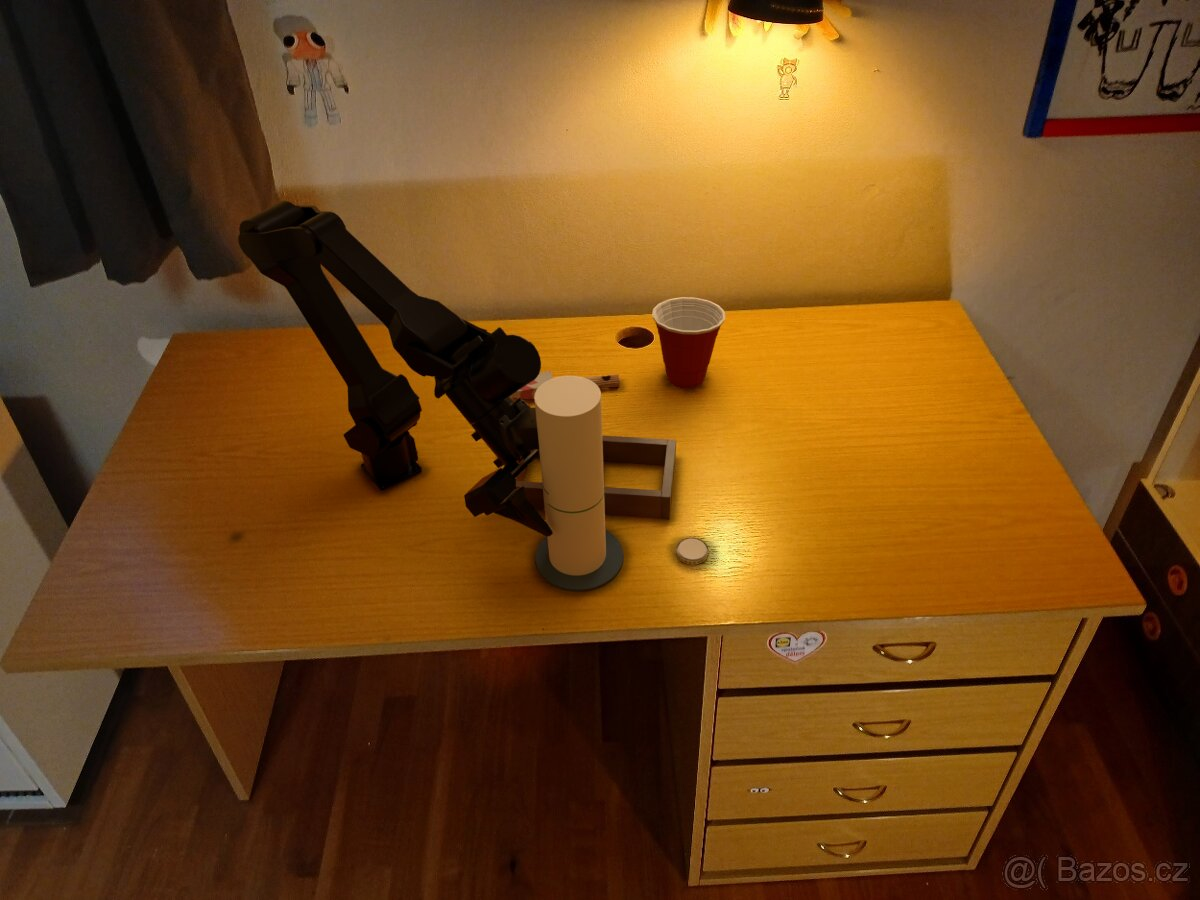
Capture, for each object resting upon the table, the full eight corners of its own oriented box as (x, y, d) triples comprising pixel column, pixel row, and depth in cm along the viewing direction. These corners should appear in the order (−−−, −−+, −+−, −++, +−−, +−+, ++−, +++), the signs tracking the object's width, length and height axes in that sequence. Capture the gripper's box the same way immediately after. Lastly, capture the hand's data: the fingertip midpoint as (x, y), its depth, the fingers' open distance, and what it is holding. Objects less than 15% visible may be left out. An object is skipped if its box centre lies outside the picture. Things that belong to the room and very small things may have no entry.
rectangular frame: (507, 507, 121) (504, 485, 118) (523, 451, 129) (521, 429, 127) (669, 519, 118) (670, 497, 116) (675, 461, 127) (676, 439, 124)
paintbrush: (487, 374, 138) (617, 366, 141) (488, 389, 140) (616, 380, 142) (488, 390, 135) (621, 381, 138) (489, 404, 137) (620, 395, 139)
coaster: (570, 606, 108) (570, 604, 108) (518, 552, 115) (518, 550, 114) (641, 562, 113) (641, 560, 113) (588, 513, 120) (588, 511, 119)
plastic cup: (726, 362, 144) (731, 297, 137) (714, 403, 137) (719, 336, 129) (659, 353, 147) (660, 288, 139) (643, 392, 139) (644, 326, 131)
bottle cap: (703, 567, 112) (703, 564, 111) (672, 559, 113) (672, 556, 113) (712, 545, 115) (712, 541, 114) (681, 537, 116) (681, 533, 115)
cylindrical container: (591, 526, 117) (583, 368, 101) (615, 563, 112) (612, 403, 96) (540, 544, 115) (524, 386, 99) (563, 583, 110) (550, 424, 94)
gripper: (472, 432, 94) (566, 546, 97) (572, 344, 106) (653, 447, 109) (425, 462, 103) (512, 566, 105) (523, 377, 114) (598, 472, 117)
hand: (572, 511), depth 109 cm, fingers open, 9 cm apart
